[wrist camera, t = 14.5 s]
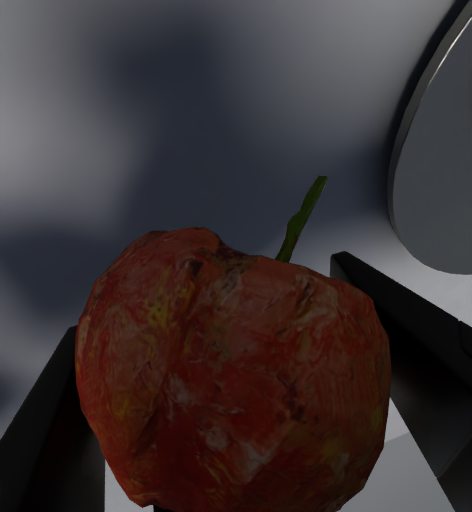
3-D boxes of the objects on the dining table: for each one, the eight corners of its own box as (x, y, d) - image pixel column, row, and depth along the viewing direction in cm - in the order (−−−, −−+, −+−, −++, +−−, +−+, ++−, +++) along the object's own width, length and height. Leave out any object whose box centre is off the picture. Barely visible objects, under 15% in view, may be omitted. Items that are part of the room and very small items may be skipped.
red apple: (167, 73, 10) (-104, 435, 8) (495, 50, 5) (43, 981, 3) (278, 227, 15) (141, 462, 13) (484, 283, 11) (327, 664, 8)
